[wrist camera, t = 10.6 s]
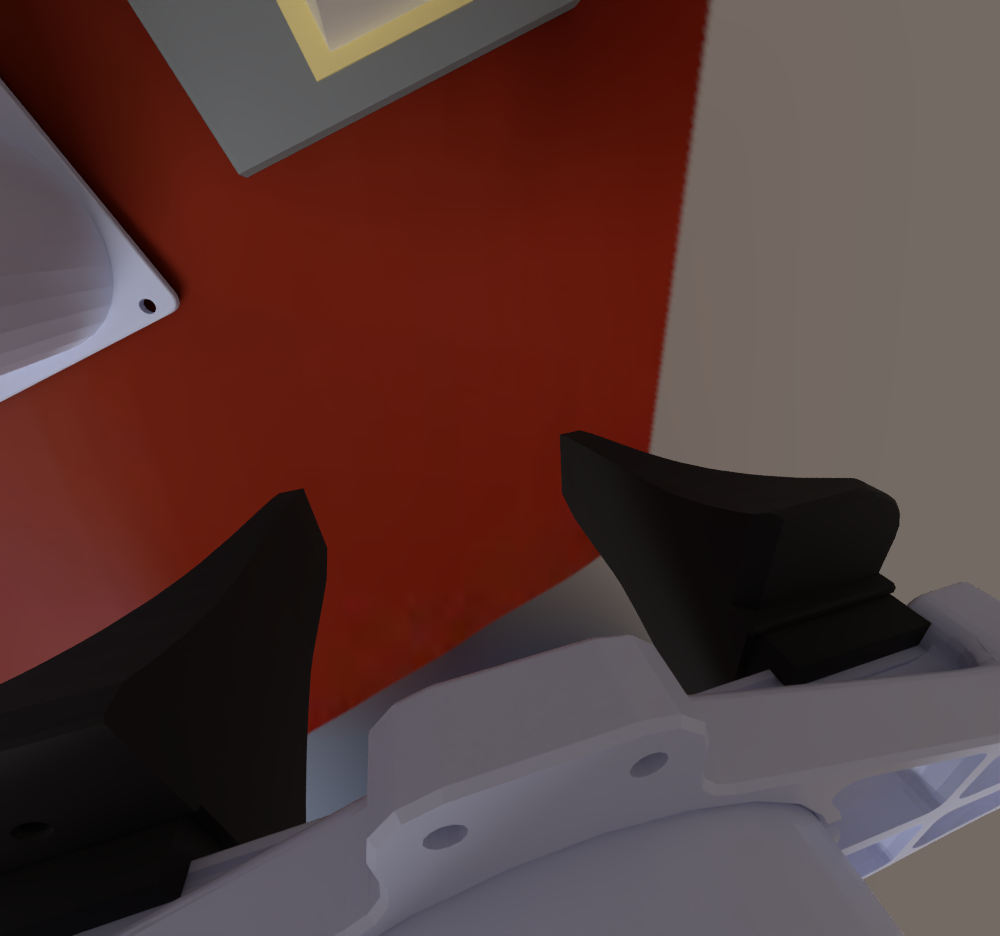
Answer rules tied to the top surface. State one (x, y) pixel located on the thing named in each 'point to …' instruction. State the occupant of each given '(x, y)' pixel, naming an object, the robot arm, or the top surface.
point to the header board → (316, 63)
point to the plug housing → (355, 17)
